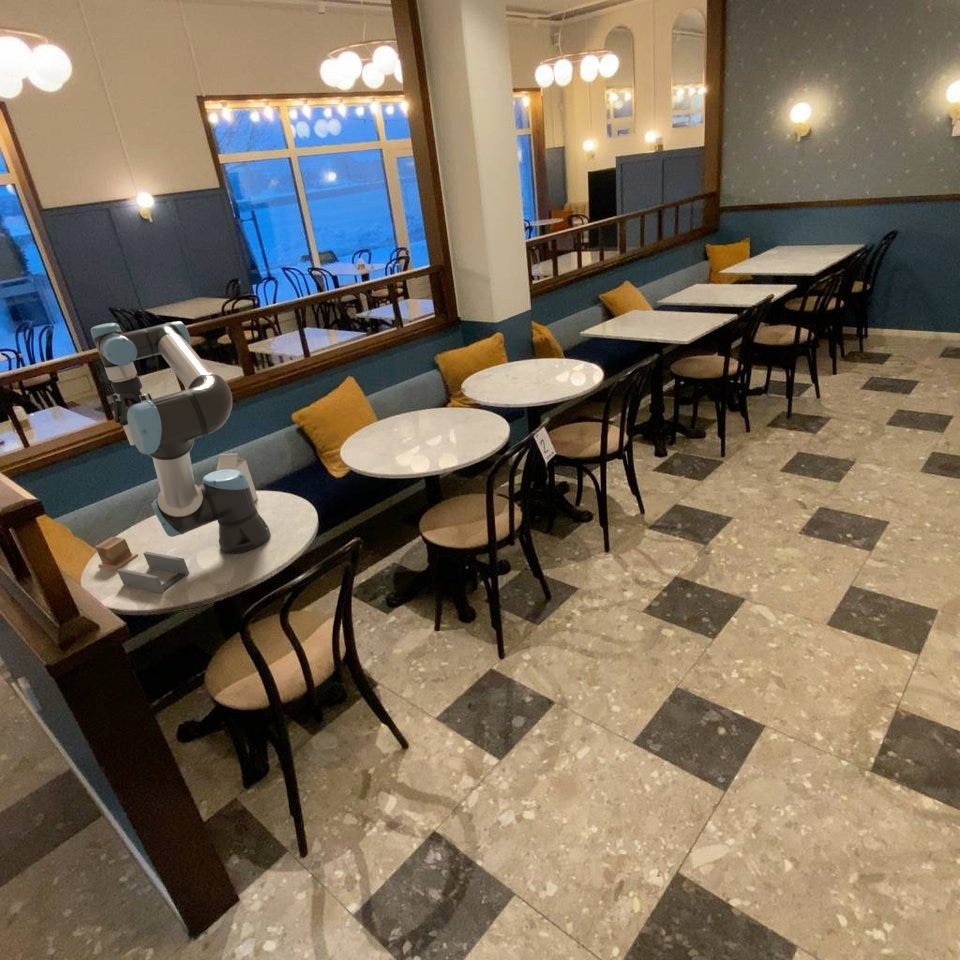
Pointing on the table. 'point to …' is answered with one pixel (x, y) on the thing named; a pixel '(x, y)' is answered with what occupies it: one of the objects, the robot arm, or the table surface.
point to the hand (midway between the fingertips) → (150, 445)
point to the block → (113, 551)
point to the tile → (119, 563)
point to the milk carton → (236, 468)
